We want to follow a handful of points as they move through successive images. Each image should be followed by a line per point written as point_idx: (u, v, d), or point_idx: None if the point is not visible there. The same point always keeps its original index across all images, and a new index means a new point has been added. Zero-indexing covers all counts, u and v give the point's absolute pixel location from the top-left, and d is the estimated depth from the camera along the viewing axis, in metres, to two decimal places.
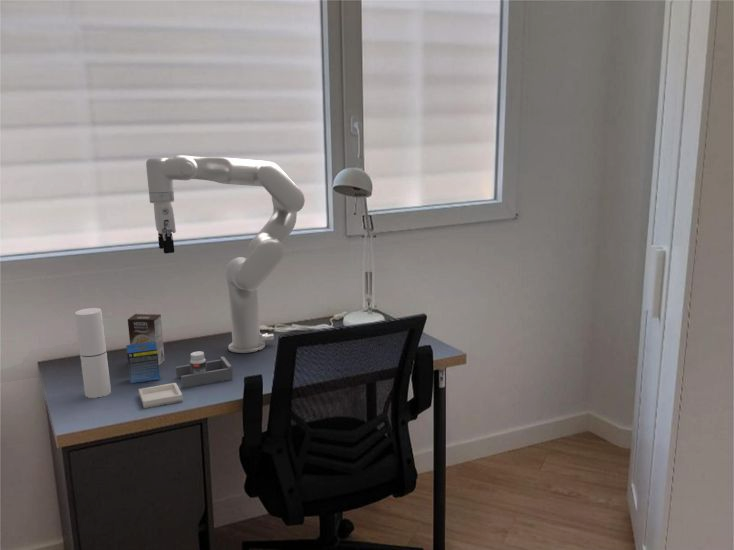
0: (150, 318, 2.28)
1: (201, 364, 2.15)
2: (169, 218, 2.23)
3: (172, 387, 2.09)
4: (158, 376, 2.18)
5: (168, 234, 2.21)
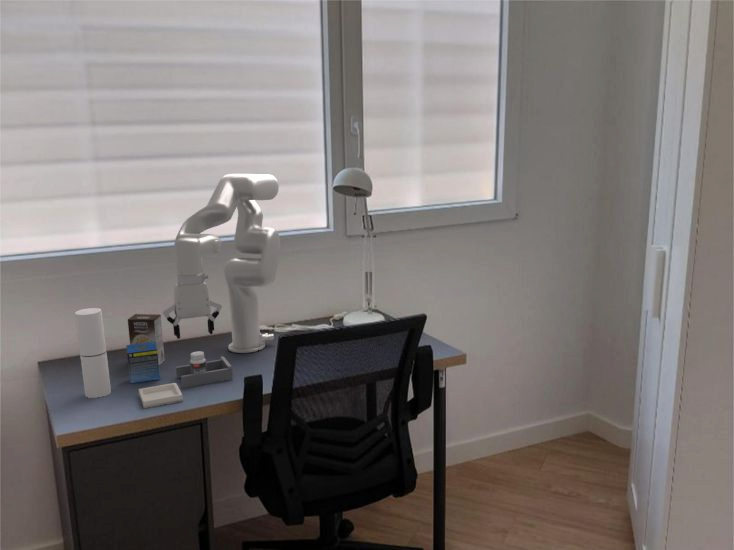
0: (150, 318, 2.28)
1: (201, 364, 2.15)
2: None
3: (172, 387, 2.09)
4: (158, 376, 2.18)
5: None
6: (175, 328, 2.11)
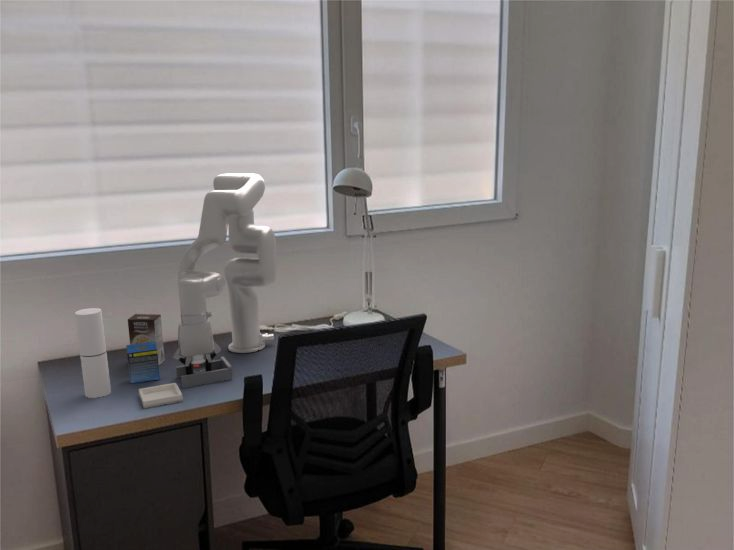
0: (150, 318, 2.28)
1: (201, 364, 2.15)
2: None
3: (172, 387, 2.09)
4: (158, 376, 2.18)
5: None
6: (187, 368, 2.15)
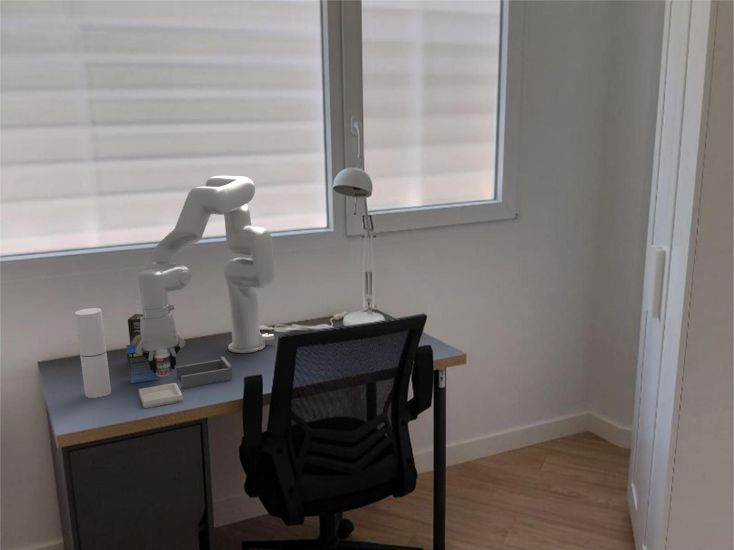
0: None
1: (165, 358, 2.11)
2: None
3: (172, 387, 2.09)
4: (158, 376, 2.18)
5: None
6: (151, 363, 2.11)
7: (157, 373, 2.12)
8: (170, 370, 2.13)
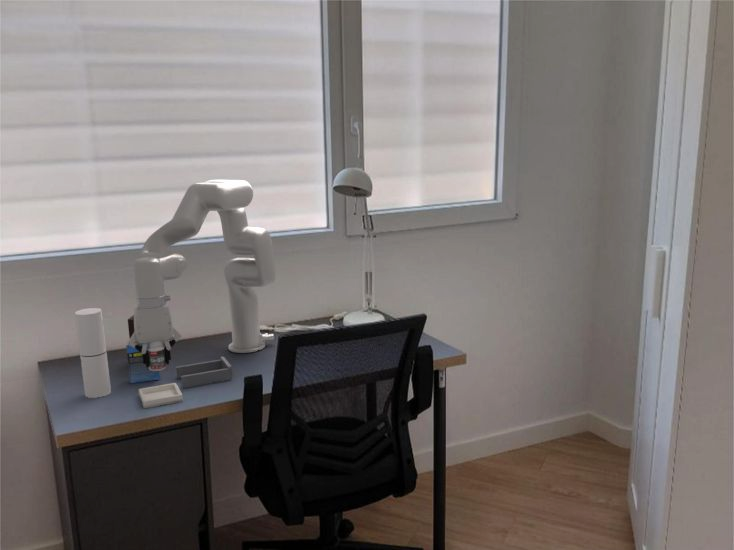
0: None
1: (159, 351, 1.99)
2: None
3: (172, 387, 2.09)
4: (158, 376, 2.18)
5: None
6: (144, 356, 1.99)
7: (150, 367, 2.00)
8: (164, 365, 2.01)
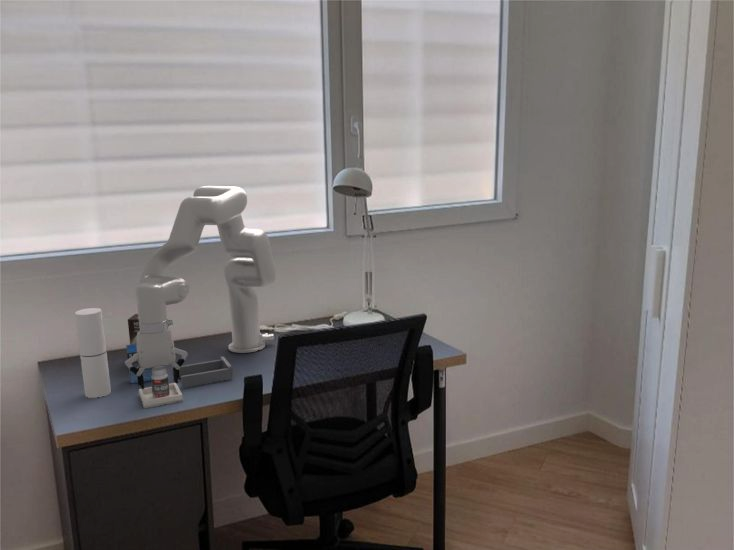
0: None
1: (163, 380, 2.01)
2: None
3: (172, 387, 2.09)
4: None
5: None
6: (139, 378, 1.99)
7: (154, 395, 2.02)
8: (168, 393, 2.03)
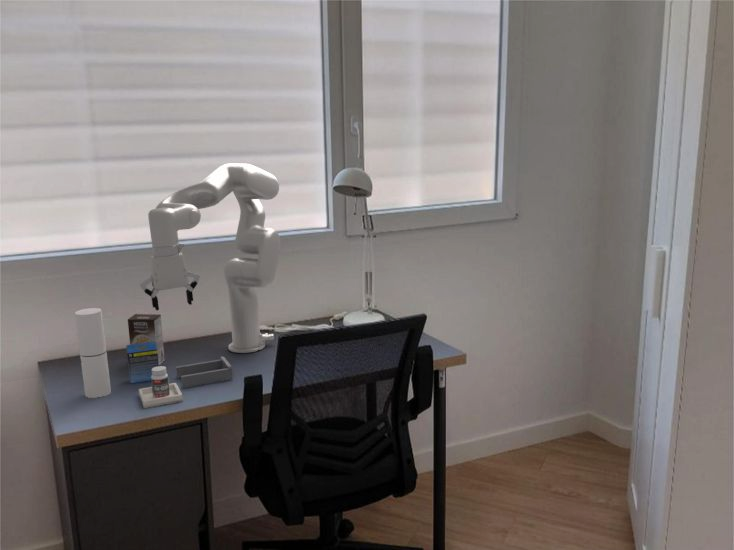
0: (150, 318, 2.28)
1: (163, 380, 2.01)
2: None
3: (172, 387, 2.09)
4: None
5: None
6: (153, 300, 2.09)
7: (154, 395, 2.02)
8: (168, 393, 2.03)
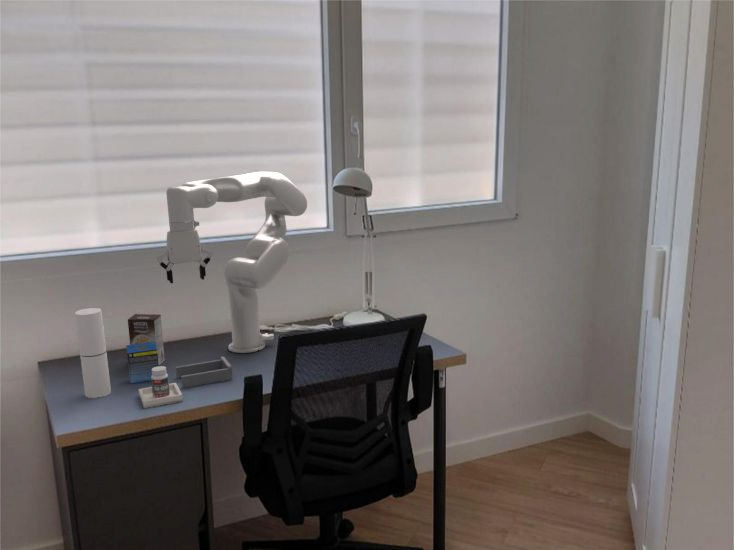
0: (150, 318, 2.28)
1: (163, 380, 2.01)
2: None
3: (172, 387, 2.09)
4: None
5: None
6: (168, 273, 2.20)
7: (154, 395, 2.02)
8: (168, 393, 2.03)
